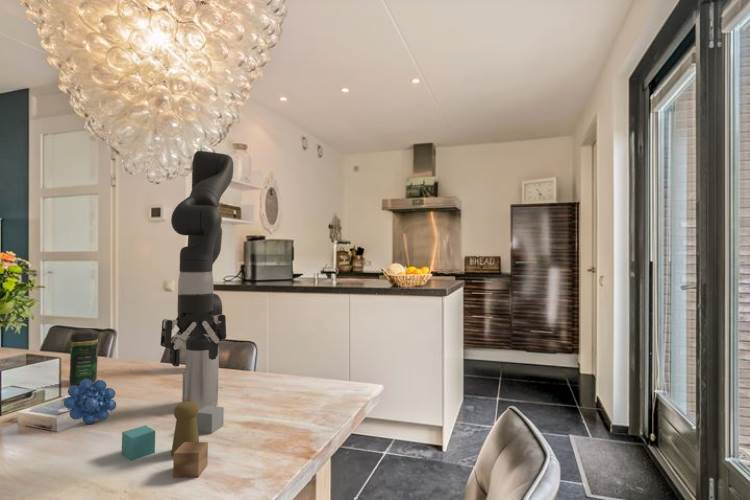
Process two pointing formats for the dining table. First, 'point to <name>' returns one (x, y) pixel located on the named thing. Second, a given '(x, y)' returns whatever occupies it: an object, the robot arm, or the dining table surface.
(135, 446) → the deep teal block
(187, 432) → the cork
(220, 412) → the slate-grey block
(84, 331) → the coffee jar
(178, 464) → the walnut block
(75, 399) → the blue knobby flower
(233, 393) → the dining table surface
